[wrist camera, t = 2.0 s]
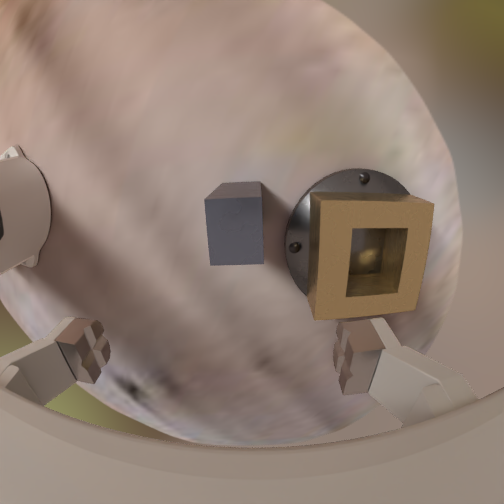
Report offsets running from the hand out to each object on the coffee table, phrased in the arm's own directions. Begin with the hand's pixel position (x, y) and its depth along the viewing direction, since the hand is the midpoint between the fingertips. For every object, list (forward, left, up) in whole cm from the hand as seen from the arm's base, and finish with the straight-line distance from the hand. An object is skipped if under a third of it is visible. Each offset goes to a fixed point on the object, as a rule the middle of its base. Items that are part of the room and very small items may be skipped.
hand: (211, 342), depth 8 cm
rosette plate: (+13, -4, -22) cm, 26 cm away
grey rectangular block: (0, 0, -22) cm, 22 cm away
